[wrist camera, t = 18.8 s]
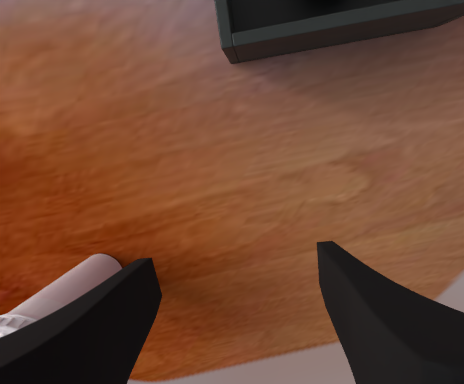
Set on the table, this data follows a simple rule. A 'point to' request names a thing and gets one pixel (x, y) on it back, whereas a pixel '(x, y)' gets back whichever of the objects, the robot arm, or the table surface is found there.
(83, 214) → the table surface
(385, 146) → the table surface
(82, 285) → the smoothie
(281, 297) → the table surface
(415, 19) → the bin
